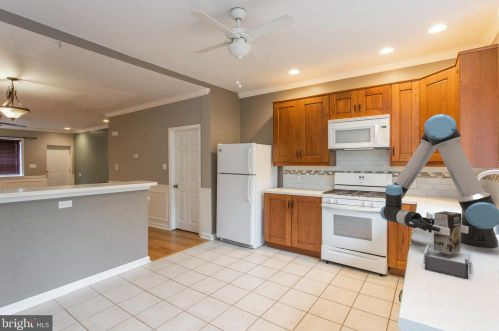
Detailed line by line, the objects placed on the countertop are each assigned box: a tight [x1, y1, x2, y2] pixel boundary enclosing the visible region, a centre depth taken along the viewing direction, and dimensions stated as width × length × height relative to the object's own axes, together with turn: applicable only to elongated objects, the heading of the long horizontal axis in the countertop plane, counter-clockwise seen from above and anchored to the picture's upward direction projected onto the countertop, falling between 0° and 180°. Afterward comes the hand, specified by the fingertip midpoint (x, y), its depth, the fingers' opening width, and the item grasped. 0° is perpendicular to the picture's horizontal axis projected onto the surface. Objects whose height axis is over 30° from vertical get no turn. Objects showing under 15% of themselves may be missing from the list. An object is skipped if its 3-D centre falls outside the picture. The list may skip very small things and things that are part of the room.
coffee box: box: [432, 211, 462, 255], centre depth 108 cm, size 9×6×16 cm
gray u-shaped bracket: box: [423, 243, 472, 280], centre depth 98 cm, size 20×14×5 cm
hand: (458, 231), depth 104 cm, fingers closed on coffee box, 10 cm apart
